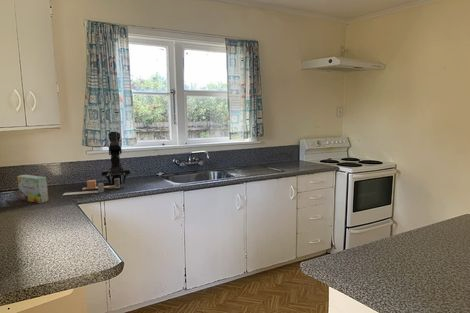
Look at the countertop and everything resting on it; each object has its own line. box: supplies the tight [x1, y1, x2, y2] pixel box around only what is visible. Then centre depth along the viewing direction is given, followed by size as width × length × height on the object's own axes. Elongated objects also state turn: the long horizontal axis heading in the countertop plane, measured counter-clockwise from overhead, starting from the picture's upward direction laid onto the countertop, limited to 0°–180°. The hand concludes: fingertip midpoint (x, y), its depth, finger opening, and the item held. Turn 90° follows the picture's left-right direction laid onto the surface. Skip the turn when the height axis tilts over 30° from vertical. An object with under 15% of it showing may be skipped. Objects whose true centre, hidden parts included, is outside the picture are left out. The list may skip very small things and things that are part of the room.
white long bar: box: [62, 182, 105, 196], centre depth 214 cm, size 24×6×6 cm, turn 105°
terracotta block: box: [86, 179, 97, 190], centre depth 227 cm, size 5×5×5 cm
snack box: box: [16, 174, 50, 204], centre depth 199 cm, size 21×6×15 cm, turn 62°
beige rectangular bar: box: [81, 178, 121, 191], centre depth 228 cm, size 24×6×6 cm, turn 105°
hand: (117, 184), depth 231 cm, fingers open, 8 cm apart
